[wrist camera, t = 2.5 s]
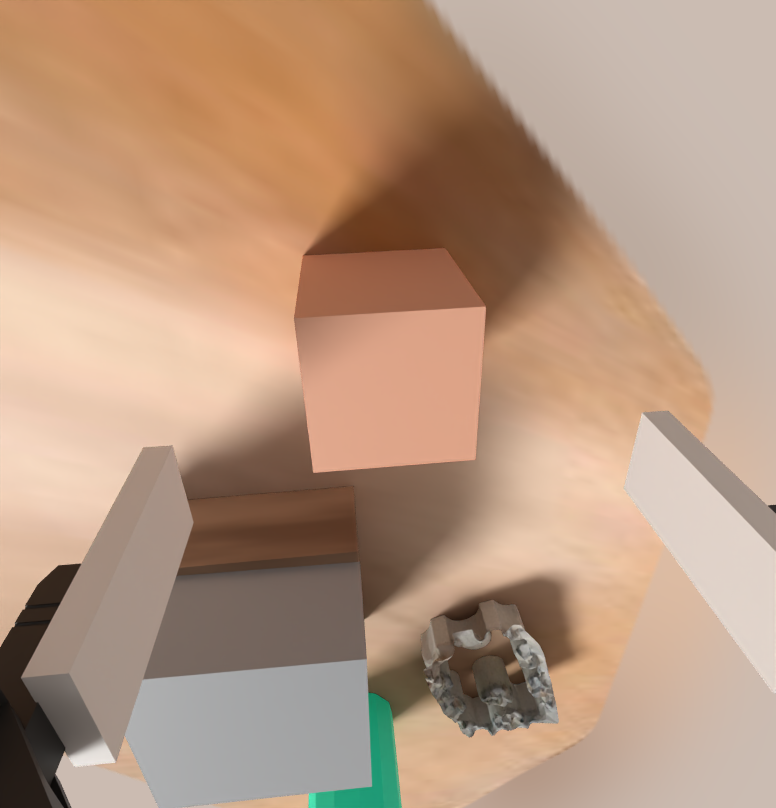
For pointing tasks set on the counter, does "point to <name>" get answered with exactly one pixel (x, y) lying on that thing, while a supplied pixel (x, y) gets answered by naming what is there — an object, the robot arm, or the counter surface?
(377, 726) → the candle
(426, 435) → the terracotta block
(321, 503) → the tower base
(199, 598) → the gray tower middle block
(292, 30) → the counter surface
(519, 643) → the egg carton
